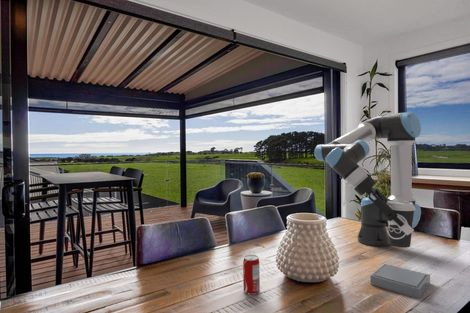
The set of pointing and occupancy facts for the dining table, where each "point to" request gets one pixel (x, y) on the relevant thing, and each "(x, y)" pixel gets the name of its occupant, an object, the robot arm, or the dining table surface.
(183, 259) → the dining table surface
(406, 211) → the coffee cup
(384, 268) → the slate base
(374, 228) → the robot arm
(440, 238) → the dining table surface
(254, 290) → the soda can
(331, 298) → the dining table surface
